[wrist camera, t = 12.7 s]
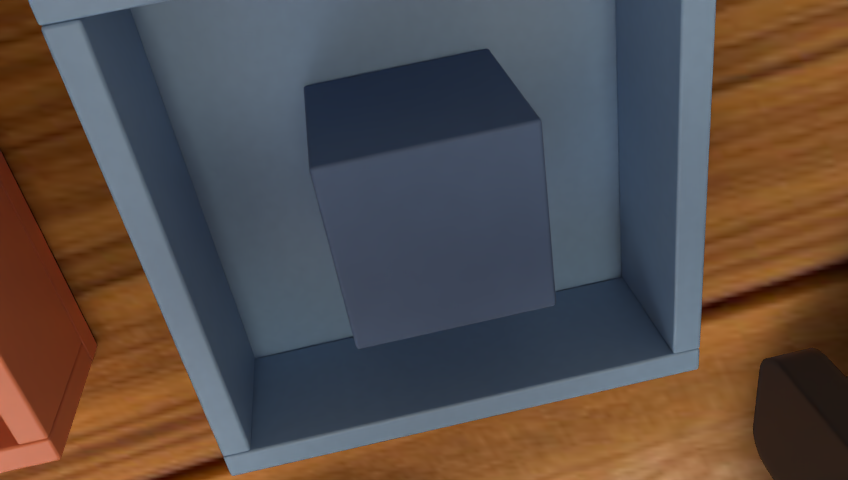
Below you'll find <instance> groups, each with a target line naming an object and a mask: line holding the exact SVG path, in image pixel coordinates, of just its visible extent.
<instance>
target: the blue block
mask: <svg viewBox="0 0 848 480" xmlns="http://www.w3.org/2000/svg"><path fill="white" fill-rule="evenodd" d="M304 102H305V117H306V131H307V146H308V160H309V172H310V176H311V179H312V183H313V187H314V191H315V194H316V198H317V202H318V206H319V210H320V213H321V217H322V221H323V225H324V228H325V232H326V236H327V240H328V244H329V247H330V251H331V255H332V259H333V262H334V266H335V270H336V274H337V278H338V281H339V285H340V289H341V293H342V296H343V300H344V304H345V308H346V312H347V315H348V319H349V323H350V327H351V330H352V334H353V338H354V342H355V346H356V347H357V348H358V349H362V348H367V347H371V346H376V345H380V344H385V343H389V342H394V341H398V340H403V339H407V338H411V337H416V336H420V335H425V334H429V333H434V332H438V331H443V330H447V329H452V328H456V327H461V326H465V325H469V324H474V323H478V322H483V321H487V320H492V319H496V318H501V317H505V316H510V315H514V314H519V313H523V312H527V311H532V310H536V309H541V308H545V307H550V306H554V305H555V304H556V294H555V281H554V269H553V256H552V244H551V231H550V218H549V206H548V193H547V181H546V168H545V156H544V143H543V131H542V121H541V119H540V118H539V116H538V115H537V114H536V112H535V111H534V110H533V108H532V107H531V106H530V104H529V103H528V102H527V100H526V99H525V98H524V96H523V95H522V93H521V92H520V91H519V89H518V88H517V87H516V85H515V84H514V83H513V81H512V80H511V79H510V77H509V76H508V75H507V73H506V72H505V70H504V69H503V68H502V66H501V65H500V64H499V62H498V61H497V60H496V58H495V57H494V56H493V54H492V53H491V52H490V50H489V49H483V50H478V51H473V52H468V53H463V54H458V55H453V56H449V57H444V58H439V59H434V60H429V61H424V62H419V63H415V64H410V65H405V66H400V67H395V68H390V69H385V70H381V71H376V72H371V73H366V74H361V75H356V76H351V77H347V78H342V79H337V80H332V81H327V82H322V83H317V84H313V85H308V86H305V87H304Z"/></svg>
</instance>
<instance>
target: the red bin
mask: <svg viewBox="0 0 848 480" xmlns="http://www.w3.org/2000/svg"><path fill="white" fill-rule="evenodd" d="M96 349H97V344H96V342H95V340H94V338H93V336H92V334H91V332H90V329H89V327H88V325H87V323H86V321H85V319H84V317H83V315H82V313H81V311H80V309H79V307H78V305H77V303H76V301H75V299H74V297H73V295H72V293H71V291H70V289H69V287H68V285H67V283H66V281H65V279H64V277H63V275H62V273H61V271H60V269H59V267H58V265H57V263H56V261H55V259H54V257H53V255H52V253H51V251H50V249H49V247H48V245H47V243H46V241H45V239H44V237H43V235H42V233H41V231H40V229H39V227H38V225H37V223H36V221H35V219H34V217H33V215H32V213H31V211H30V209H29V207H28V205H27V203H26V201H25V199H24V197H23V195H22V193H21V191H20V189H19V187H18V185H17V183H16V181H15V179H14V177H13V175H12V173H11V171H10V169H9V167H8V165H7V163H6V161H5V159H4V157H3V155H2V153H1V151H0V473H3V472H8V471H12V470H17V469H21V468H25V467H30V466H34V465H39V464H43V463H48V462H52V461H56V460H59V459H61V457H62V454H63V451H64V447H65V444H66V441H67V438H68V435H69V432H70V429H71V426H72V422H73V419H74V416H75V413H76V410H77V407H78V404H79V401H80V397H81V394H82V391H83V388H84V385H85V382H86V379H87V376H88V372H89V369H90V366H91V361H93V358H94V355H95V352H96Z"/></svg>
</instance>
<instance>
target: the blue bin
mask: <svg viewBox="0 0 848 480" xmlns="http://www.w3.org/2000/svg"><path fill="white" fill-rule="evenodd" d="M28 1H29V4H30V6H31V8H32V11H33V13H34V15H35V18H36V20H37V23H38V24H39V25H42V33H43V35H44V38H45V40H46V42H47V45H48V47H49V49H50V52H51V54H52V56H53V59H54V61H55V63H56V66H57V68H58V70H59V73H60V75H61V77H62V80H63V82H64V85H65V87H66V89H67V92H68V94H69V96H70V99H71V101H72V103H73V106H74V108H75V110H76V113H77V115H78V117H79V120H80V122H81V124H82V127H83V129H84V131H85V134H86V136H87V138H88V141H89V143H90V145H91V148H92V150H93V152H94V155H95V157H96V160H97V162H98V164H99V167H100V169H101V171H102V174H103V176H104V178H105V181H106V183H107V185H108V188H109V190H110V192H111V195H112V197H113V199H114V202H115V204H116V206H117V209H118V211H119V213H120V216H121V218H122V220H123V223H124V225H125V228H126V230H127V232H128V235H129V237H130V239H131V242H132V244H133V246H134V249H135V251H136V253H137V256H138V258H139V260H140V263H141V265H142V267H143V270H144V272H145V274H146V277H147V279H148V281H149V284H150V286H151V288H152V291H153V293H154V295H155V298H156V300H157V303H158V305H159V307H160V310H161V312H162V314H163V317H164V319H165V321H166V324H167V326H168V328H169V331H170V333H171V335H172V338H173V340H174V342H175V345H176V347H177V349H178V352H179V354H180V356H181V359H182V361H183V363H184V366H185V368H186V370H187V373H188V375H189V378H190V380H191V382H192V385H193V387H194V389H195V392H196V394H197V396H198V399H199V401H200V403H201V406H202V408H203V410H204V413H205V415H206V417H207V420H208V422H209V424H210V427H211V429H212V431H213V434H214V436H215V438H216V441H217V443H218V446H219V448H220V450H221V453H222V455H224V460H225V462H226V465H227V467H228V469H229V472H230V474H231V475H232V476H235V475H239V474H244V473H248V472H252V471H257V470H261V469H265V468H270V467H274V466H278V465H283V464H287V463H291V462H296V461H300V460H304V459H309V458H313V457H317V456H322V455H326V454H330V453H335V452H339V451H343V450H348V449H352V448H356V447H361V446H365V445H370V444H374V443H378V442H383V441H387V440H391V439H396V438H400V437H404V436H409V435H413V434H417V433H422V432H426V431H430V430H435V429H439V428H443V427H448V426H452V425H456V424H461V423H465V422H469V421H474V420H478V419H482V418H487V417H491V416H496V415H500V414H504V413H509V412H513V411H517V410H522V409H526V408H530V407H535V406H539V405H543V404H548V403H552V402H556V401H561V400H565V399H569V398H574V397H578V396H582V395H587V394H591V393H595V392H600V391H604V390H608V389H613V388H617V387H622V386H626V385H630V384H635V383H639V382H643V381H648V380H652V379H656V378H661V377H665V376H669V375H674V374H678V373H682V372H687V371H691V370H695V369H698V367H699V347H700V328H701V307H702V287H703V266H704V245H705V224H706V203H707V182H708V161H709V140H710V119H711V98H712V77H713V56H714V35H715V14H716V0H28ZM483 49H489V50H490V52H491V53H492V54H493V56H494V57H495V58H496V60H497V61H498V62H499V64H500V65H501V66H502V68H503V69H504V70H505V72H506V73H507V75H508V76H509V77H510V79H511V80H512V81H513V83H514V84H515V85H516V87H517V88H518V89H519V91H520V92H521V93H522V95H523V96H524V98H525V99H526V100H527V102H528V103H529V104H530V106H531V107H532V108H533V110H534V111H535V112H536V114H537V115H538V116H539V118H540V119H541V121H542V131H543V143H544V156H545V168H546V181H547V193H548V206H549V218H550V231H551V244H552V256H553V269H554V281H555V294H556V304H555V305H554V306H550V307H545V308H541V309H536V310H532V311H527V312H523V313H519V314H514V315H510V316H505V317H501V318H496V319H492V320H487V321H483V322H478V323H474V324H469V325H465V326H461V327H456V328H452V329H447V330H443V331H438V332H434V333H429V334H425V335H420V336H416V337H411V338H407V339H403V340H398V341H394V342H389V343H385V344H380V345H376V346H371V347H367V348H362V349H358V348H357V347H356V346H355V342H354V338H353V334H352V330H351V327H350V323H349V319H348V315H347V312H346V308H345V304H344V300H343V296H342V293H341V289H340V285H339V281H338V278H337V274H336V270H335V266H334V262H333V259H332V255H331V251H330V247H329V244H328V240H327V236H326V232H325V228H324V225H323V221H322V217H321V213H320V210H319V206H318V202H317V198H316V194H315V191H314V187H313V183H312V179H311V176H310V172H309V160H308V146H307V131H306V117H305V102H304V87H305V86H308V85H313V84H317V83H322V82H327V81H332V80H337V79H342V78H347V77H351V76H356V75H361V74H366V73H371V72H376V71H381V70H385V69H390V68H395V67H400V66H405V65H410V64H415V63H419V62H424V61H429V60H434V59H439V58H444V57H449V56H453V55H458V54H463V53H468V52H473V51H478V50H483Z"/></svg>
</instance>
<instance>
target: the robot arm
mask: <svg viewBox="0 0 848 480" xmlns="http://www.w3.org/2000/svg"><path fill="white" fill-rule="evenodd" d="M753 434H754V440H755V444H756V447H757V450H758V453H759V456H760V458H761V460H762V462H763V464H764V466H765V467H766V469H767V470H768V472H769V473H770V475H771V476H772V478H773V479H774V480H848V376H847V377H845V376H844V375H843V374H842V373H841V372H840V370H839V369H838V368H837V367H836V366H835V365H834V364H833V363H832V362H831V361H830V360H829V359H828V357H827V356H826V355H825V354H823V353H822V352H821V351H820V350H818V349H815V348H809V349H805V350H800V351H796V352H792V353H788V354H783V355H779V356H775V357H771V358H766V359H764V360H763V361H762V363H761V365H760V370H759V379H758V388H757V397H756V406H755V415H754V423H753Z"/></svg>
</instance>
